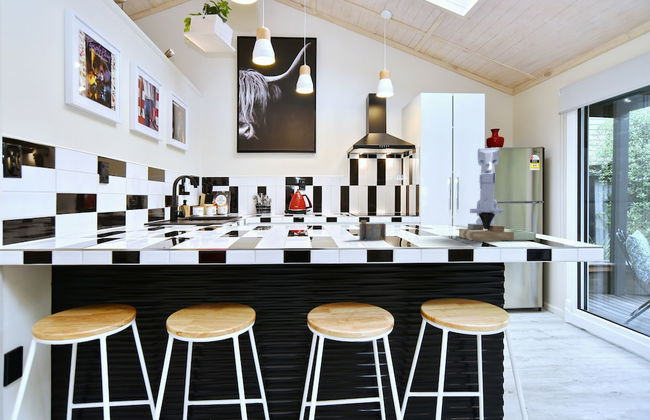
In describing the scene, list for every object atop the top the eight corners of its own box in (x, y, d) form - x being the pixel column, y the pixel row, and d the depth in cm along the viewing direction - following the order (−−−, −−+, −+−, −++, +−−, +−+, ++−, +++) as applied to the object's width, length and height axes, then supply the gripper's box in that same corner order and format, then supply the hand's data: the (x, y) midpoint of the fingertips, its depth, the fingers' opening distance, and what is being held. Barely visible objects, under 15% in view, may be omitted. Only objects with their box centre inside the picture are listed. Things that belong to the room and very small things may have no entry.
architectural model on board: (361, 241, 151) (361, 219, 151) (359, 240, 154) (359, 219, 154) (385, 241, 153) (386, 219, 152) (383, 240, 156) (383, 218, 155)
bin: (495, 236, 167) (495, 229, 166) (515, 236, 167) (515, 229, 167) (513, 240, 152) (513, 233, 151) (535, 240, 152) (535, 232, 152)
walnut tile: (487, 230, 158) (487, 224, 157) (498, 230, 158) (498, 224, 158) (493, 231, 153) (493, 225, 152) (504, 231, 153) (504, 225, 153)
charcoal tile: (467, 228, 164) (467, 223, 164) (478, 228, 165) (478, 223, 164) (472, 229, 159) (472, 224, 159) (483, 229, 160) (483, 224, 159)
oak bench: (459, 236, 166) (459, 228, 166) (495, 236, 167) (495, 228, 166) (473, 240, 151) (473, 231, 151) (513, 240, 152) (513, 231, 151)
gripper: (475, 199, 150) (474, 230, 151) (507, 199, 151) (507, 230, 151) (468, 199, 157) (467, 228, 158) (499, 199, 158) (498, 228, 158)
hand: (486, 229), depth 155 cm, fingers closed
